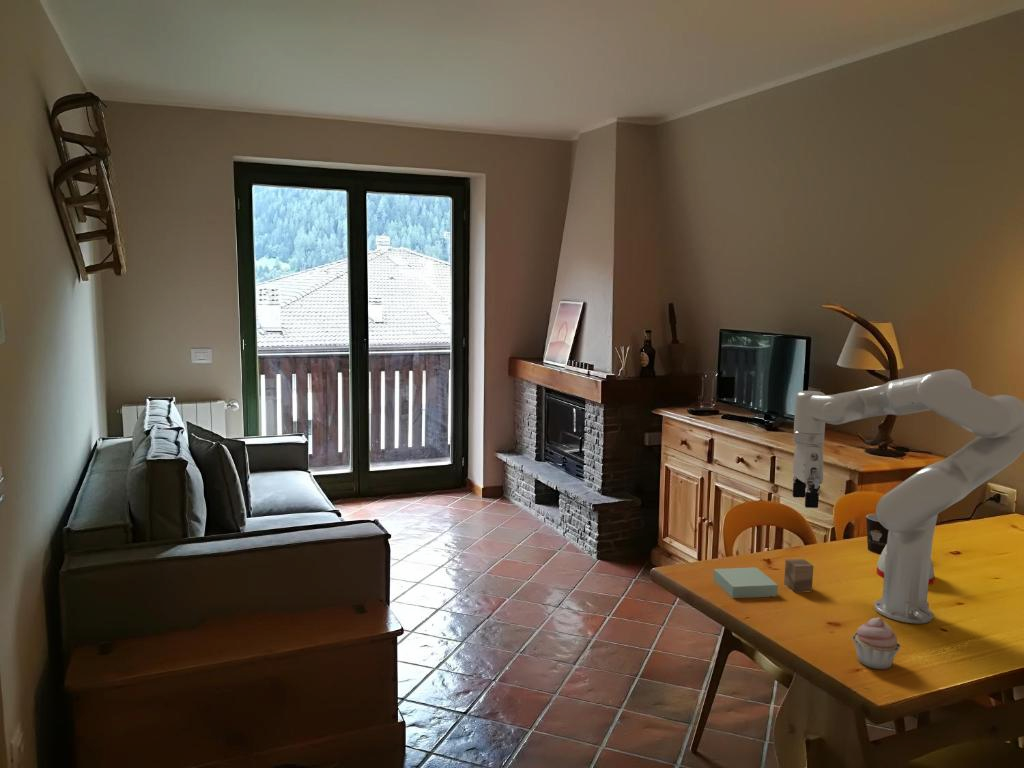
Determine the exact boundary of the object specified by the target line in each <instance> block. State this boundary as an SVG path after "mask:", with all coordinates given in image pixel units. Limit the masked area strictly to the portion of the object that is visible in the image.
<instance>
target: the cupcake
mask: <svg viewBox="0 0 1024 768" xmlns="http://www.w3.org/2000/svg"><path fill="white" fill-rule="evenodd" d="M850 638H852V641H853V643H854V647H855V651H856V656H857V660H858V662H859V663H860V664H862V665H863V666H866V667H868V668H871V669H874V670H888V669H890V667H892V664H893V662H894V659H895V656H896V654H897V653H898V652H899V650H900V648H901V647H902V645H901V644H899V643H898V637H897V635H896V633H894V629H893V628H892V627H891V626H890V625H889V624H888V623H887V622H886V621H884V620H883V619H881V617H873V618H870V619H869V620H868V621H867V622H865V623H864V624H862V625H860V626H859V627H858V628H857V632H854V635H852V636H851V637H850Z"/></svg>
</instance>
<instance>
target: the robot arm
mask: <svg viewBox="0 0 1024 768" xmlns="http://www.w3.org/2000/svg"><path fill="white" fill-rule="evenodd" d="M794 405H795V406H794V422H793V437H792V443H793V444H794V445H795V446H794V453H793V464H792V465H793V466H792V467H793V468H792V471H793V472H792V473H793V478H792V481H793V483H792V497H793V498H804V506H805V508H806V509H807V508H808V509H809V508H810V509H812V508H813V509H817V508H819V497H820V488H821V484H822V483H823V482H824V451H823V446H824V445H825V433H826V432H825V430H826V424H830V425H842V424H847V423H850V422H855V421H858V420H863V419H868V418H874V417H879V416H887V415H894V416H904V415H910V414H915V413H922V412H926V411H933V412H935V413H936V414H937V415H940V417H942V418H944V419H946V420H948V421H950V422H952V423H954V424H956V425H957V426H959V427H961V428H962V429H964V430H965V431H968V432H970V433H972V434H974V435H976V437H974V438H973V440H971V441H969V442H968V443H966V444H965V445H964V446H963V447H961V448H960V449H958V450H956V451H955V452H954V453H952V454H951V455H949V456H948V457H946V458H944V459H942V460H939V461H936V462H934V463H932V464H930V465H926V466H925V467H923V468H921V469H920V470H918V471H917V472H915V473H914V474H912V475H911V476H909V477H908V478H906V479H905V480H904V481H902V482H901V483H899V484H898V485H896V486H895V487H893V488H892V489H891V490H889V491H888V492H886V493H885V494H884V495H883V496H882V497H880V498H879V500H878V502H877V504H876V508H875V509H876V510H875V514H876V515H877V518H878V521H879V522H880V524H881V525H882V526H883V527H884V528H886V529H888V530H889V532H888V538H887V548H886V559H885V571H884V578H883V583H882V584H883V585H882V594H881V595H882V596H881V598H879V599H878V598H877V600H875V601H874V610H875V611H876V612H877V613H878V614H880V615H882V616H883V617H886V618H888V619H891V620H895V621H898V622H902V623H908V624H925V623H930V622H931V621H933V619H934V617H935V614H934V613H933V611H932V610H931V609H930V608H929V607H930V602H928V594H929V593H928V592H929V585H928V584H929V573H930V562H931V560H932V550H933V541H934V535H935V530H936V525H937V521H938V515H939V514H940V513H941V512H943V511H945V510H946V509H948V508H950V507H951V506H952V505H954V504H957V503H958V502H960V501H961V500H963V499H964V498H966V497H967V496H968V495H969V494H970V493H972V492H973V491H974V490H975V489H977V488H978V487H980V486H981V485H982V484H984V483H986V482H987V481H989V480H990V479H992V478H993V477H994V476H996V475H997V474H998V473H1000V472H1001V471H1003V470H1004V469H1006V468H1007V467H1009V466H1010V465H1011V464H1012V463H1014V462H1015V461H1016V460H1017V459H1018V458H1019V457H1020V456H1021V455H1022V454H1023V452H1024V401H1023V400H1021V399H1020V398H1018V397H1016V396H1014V395H1013V396H1012V395H1009V394H998V395H994V396H989V395H987V394H986V393H983V392H980V390H976V389H974V388H973V387H972V382H971V379H970V378H969V376H968V375H967V374H966V373H964V372H963V371H961V370H958V369H952V368H951V369H950V368H948V369H942V370H937V371H931V372H928V373H924V374H923V373H922V374H919V375H913V376H907V377H905V378H904V377H903V378H899V379H894V380H893V379H892V380H889V381H887V382H886V383H883V384H881V385H876V386H871V387H867V388H862V389H861V388H860V389H857V390H851V391H845V392H840V393H836V394H835V393H834V394H825V393H824V392H822V391H818V390H817V391H816V390H802V391H800V390H799V391H798V392H797V393H796V395H795V403H794Z"/></svg>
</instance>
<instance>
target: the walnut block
mask: <svg viewBox="0 0 1024 768" xmlns="http://www.w3.org/2000/svg"><path fill="white" fill-rule="evenodd" d="M813 579H814V565H813V563H810V562H809V561H807V560H806V559H805V558H793V559H792V558H790V559H785V566H784V580H783V581H784V583H783V585H784V586H785V585H786V586H787V587H788V588H787V587H786V586H785V587H786V588H787V589H789V590H790V589H791V590H792V591H793V592H792V591H791V590H790V591H791V592H792V593H807V592H806V591H813ZM804 591H805V592H804Z"/></svg>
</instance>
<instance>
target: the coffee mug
mask: <svg viewBox="0 0 1024 768" xmlns="http://www.w3.org/2000/svg"><path fill="white" fill-rule="evenodd" d="M865 520H866V522H865V524H866V541H867V550H868V551H869V552H870V553H874V554H878V555H881V553H882V551H883V549H884V548H885V545H886V544H887V538H888V532H889V530H888V529H886V528H884V527H883V526H882V525H881V524H880V522H879V521H878V518H877V515H876V513H869V514H866V515H865Z"/></svg>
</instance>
